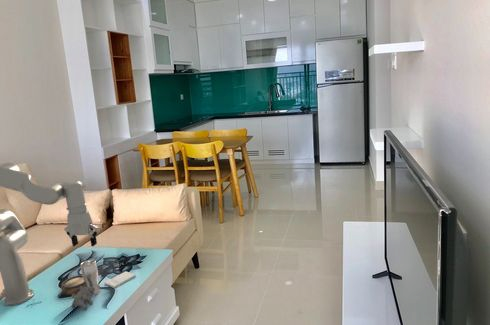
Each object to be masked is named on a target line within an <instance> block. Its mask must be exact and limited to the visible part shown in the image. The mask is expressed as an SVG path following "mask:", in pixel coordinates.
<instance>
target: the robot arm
mask: <svg viewBox="0 0 490 325" xmlns="http://www.w3.org/2000/svg"><path fill="white" fill-rule="evenodd" d="M32 180H33V179H32V176H31V175H30V174H29V173H27V172H23V171H20V168H19V167H18V165H16V164H15V163H13V162H5V163H2V164H0V188H5V189H8V190H12V191H16V192H18V193H21V194H22V195H23V196H24V197H26V198H27V199H28V200H29V201H32V202H34V203H39V204H42V205H47V206H48V205H51V206H52V205H55V204H56V203H58V202H60V201H61V200H63V199H65V200H66V202H65V203H66V206H67V207H66V208H65V209H66V210H67V211H68V213H67V214H66V215H67V226H66V227H64V231H65V233H66V235H67V236H68V237H69V238H70V239H71V245H72V247H76V246H77V245H79V239H78V236H87V235H88V236H89V237H90V238H89V241H90V245H91V247H94V246H96V245H97V243H98V242H97V235H98V233H99V229H100V227H99V226H97V225H95V224H93V220H92V217H91V214H90V211H89V210H88V208H87V204H86V199H85V194H84V190H83V188H84V187H83V185H82V182H81V181H77V180H76V181H75V180H74V181H70V182H69V181H68V182H65V181H58V182H55V183H53V184H51V185H49V186H48V187H45V186H43V185H42V186H41V185H38V184H35V183H34V182H32ZM1 233H3V234H2V235H0V275H1V279H2V284H3V287H4V288H3V289H2V291H1V293H0V295H1V296H4V299H3V304H4V305H5V306H17V305H19V304H22V303H25V302H27V301H29V300H30V299H32V298H33V297H34V296H35V292H34V290H33V289H30V287H29V281H28V278H27V274H26V269H25V264H24V261H23V258H22V257H21V256H20V254H19V253H18V251H19V250H20V249H21V248H23V247H24V246H25V245H26V244H27V243H28V241H29V234H28V232H27V230H26V229H25V227H24V225H23V224H22V223H21V222H20V220H19V219H18V217H17V216H16V215H15V213H14V212H13V211H11V210H9V209H6V208H1V209H0V234H1Z"/></svg>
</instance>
